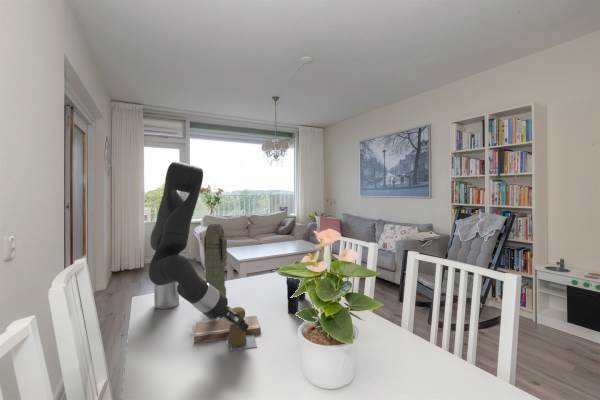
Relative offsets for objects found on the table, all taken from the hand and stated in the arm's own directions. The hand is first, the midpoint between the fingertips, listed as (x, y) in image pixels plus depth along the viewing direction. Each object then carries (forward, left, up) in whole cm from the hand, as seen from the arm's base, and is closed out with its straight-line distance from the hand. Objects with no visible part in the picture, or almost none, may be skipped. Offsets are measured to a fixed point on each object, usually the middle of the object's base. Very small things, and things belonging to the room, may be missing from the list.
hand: (241, 325), depth 96 cm
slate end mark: (0, -1, -5) cm, 5 cm away
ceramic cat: (+25, +23, -6) cm, 35 cm away
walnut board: (-4, +9, -5) cm, 11 cm away
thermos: (-8, +33, -6) cm, 34 cm away
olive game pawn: (-2, -1, -5) cm, 5 cm away
